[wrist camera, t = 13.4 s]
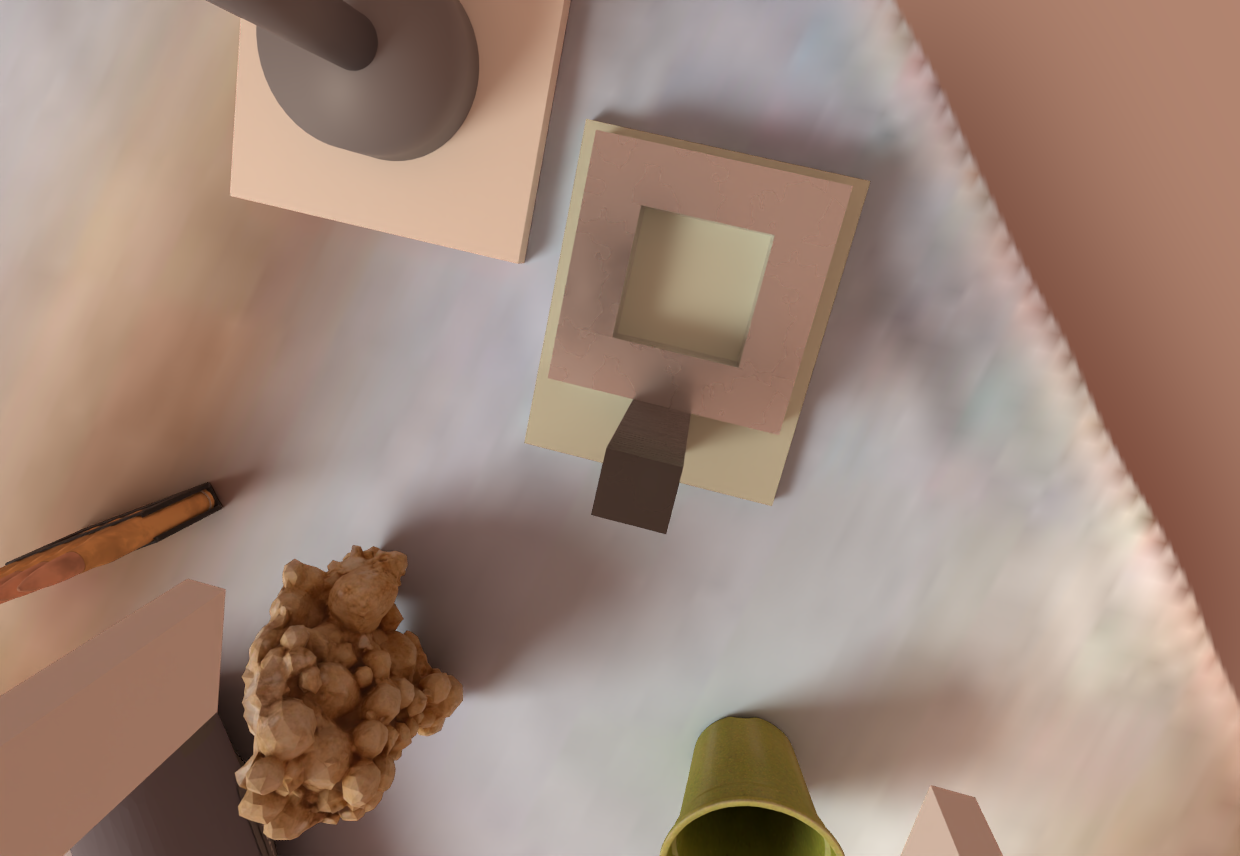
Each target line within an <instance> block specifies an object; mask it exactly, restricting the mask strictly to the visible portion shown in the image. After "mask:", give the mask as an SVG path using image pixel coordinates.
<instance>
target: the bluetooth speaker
mask: <svg viewBox="0 0 1240 856" xmlns="http://www.w3.org/2000/svg"><path fill="white" fill-rule="evenodd" d="M242 766H244V763H243V762H242V760H241V759H240V757H239V756H238V755H236V754H235V752H234V749H233V747H232V745H231V742H230V740H229V737H228V735H227V733H226V730H225V728H224V725H223V723H222V721H221V719H220V717H219V715H218V713H217V712H216V713H215V714H214V715H213V716H212V717H211V718H210V719H209V720H208V721H207V722H206V723H205V724H204V725H203V726H201V727H200V728H199V729H198V730H197V731H196V732H195V733H194V734H193V735H192V736H191V737H190V738H189V739H188V740H186V741H185V742H184V743H183V744H182V745H181V746H180V747H179V748H178V749H177V750H176V751H175V752H174V753H173V754H171V755H170V756H169V757H168V758H167V759H166V760H165V761H164V762H163V763H162V764H161V765H160V766H159V767H158V768H156V769H155V770H154V771H153V772H152V773H151V774H150V775H149V776H148V777H147V778H146V779H145V780H144V781H143V782H141V783H140V784H139V785H138V786H137V787H136V788H135V789H134V790H133V791H132V792H131V793H130V794H129V795H128V796H126V797H125V798H124V799H123V800H122V801H121V802H120V803H119V804H118V805H117V806H116V807H115V808H114V809H113V810H111V811H110V812H109V813H108V814H107V815H106V816H105V817H104V818H103V819H102V820H101V821H100V822H99V823H98V824H96V825H95V826H94V827H93V828H92V829H91V830H90V831H89V832H88V833H87V834H86V835H85V836H84V837H83V838H81V839H80V840H79V841H78V842H77V843H76V844H75V845H74V846H73V847H72V848H71V849H70V851H71V854H72V856H277V851H276V847H275V843H274V839H271V838H269V837H267V836H266V835H265V834H264V833H263V831H264V824H262V823H258V822H254V821H251V820H248V819H246V818H243V817H241V816H239V810H238V806H239V804H240V802H241V801H242V799H243V797H244V796H245V794H246V791H247V790H246V789H244V788H242V787H239V785H238V783H237V780H236V776H235V772H236V771H238V770H239V769H240V768H241V767H242Z"/></svg>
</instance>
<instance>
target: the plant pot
mask: <svg viewBox="0 0 1240 856" xmlns="http://www.w3.org/2000/svg"><path fill="white" fill-rule="evenodd" d="M660 856H845V855H844V852H843V850H842V848H841V847H840V845H839V843H838V842H837V840H836V839H835V837H834V836H833V835H832V834H831V833H830V831H829V830H828V829H827V828H826V827H825V825H824V824H823V822H822V821H821V819H820V818H819V817H818V815H817V813H816V810H815V808H814V805H813V802H812V800H811V797H810V794H809V791H808V789H807V786H806V783H805V781H804V778H803V775H802V772H801V769H800V767H799V764H798V761H797V758H796V756H795V753H794V750H793V748H792V745H791V743H790V741H789V740H788V738H787V737H786V736H785V734H784V733H783V732H782V731H781V730H779V729H778V728H777V727H776V726H774V725H773V724H771V723H769V722H767V721H765V720H763V719H760V718H756V717H755V718H735V717H727V718H723V719H721V720H718V721H716V722H715V723H713V724H711V725H710V726H709V727H707V728H706V729H705V730H704V731H703V732H702V734H701V735H700V737H699V738H698V740H697V742H696V745H695V749H694V753H693V758H692V762H691V767H690V772H689V777H688V781H687V785H686V790H685V794H684V799H683V803H682V807H681V812H680V816H679V817H678V819H677V821H676V823H675V825H674V826H673V827H672V829H671V830H670V832H669V833H668V835H667V837H666V838H665V840H664V843H663V845H662V848H661V851H660Z"/></svg>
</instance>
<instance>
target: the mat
mask: <svg viewBox="0 0 1240 856" xmlns="http://www.w3.org/2000/svg"><path fill="white" fill-rule="evenodd" d="M596 130H600V131H604V132H609V133H613V134H618V135H622V136H627V137H632V138H636V139H641V140H645V141H650V142H654V143H659V144H664V145H668V146H673V147H677V148H682V149H686V150H691V151H696V152H700V153H705V154H709V155H714V156H718V157H723V158H727V159H732V160H737V161H741V162H746V163H750V164H755V165H759V166H764V167H769V168H773V169H778V170H782V171H787V172H791V173H796V174H801V175H805V176H810V177H814V178H819V179H823V180H828V181H832V182H837V183H842V184H846V185H851V186H853V188H852V191H851V195H850V198H849V201H848V205H847V208H846V211H845V215H844V218H843V222H842V225H841V228H840V232H839V235H838V238H837V242H836V245H835V248H834V252H833V255H832V259H831V262H830V265H829V269H828V272H827V275H826V279H825V282H824V286H823V289H822V292H821V296H820V299H819V302H818V306H817V309H816V313H815V316H814V319H813V323H812V326H811V329H810V333H809V336H808V339H807V343H806V346H805V350H804V353H803V356H802V360H801V363H800V366H799V370H798V373H797V377H796V380H795V383H794V387H793V390H792V393H791V397H790V400H789V403H788V407H787V410H786V414H785V417H784V420H783V424H782V427H781V430H780V434H779V435H776V434H772V433H768V432H764V431H760V430H756V429H752V428H748V427H744V426H740V425H736V424H732V423H727V422H723V421H719V420H715V419H711V418H707V417H703V416H699V415H695V414H691V417H690V424H689V431H688V438H687V445H686V452H685V459H684V466H683V471H682V474H681V478H680V483H684V484H687V485H691V486H695V487H699V488H703V489H707V490H711V491H715V492H719V493H723V494H727V495H731V496H735V497H739V498H742V499H746V500H750V501H754V502H758V503H762V504H766V505H770V506H772V504H773V501H774V497H775V494H776V491H777V487H778V484H779V481H780V477H781V474H782V471H783V468H784V464H785V461H786V458H787V454H788V451H789V448H790V445H791V441H792V438H793V435H794V431H795V428H796V425H797V421H798V418H799V415H800V412H801V408H802V405H803V402H804V398H805V395H806V392H807V389H808V385H809V382H810V379H811V375H812V372H813V369H814V365H815V362H816V359H817V356H818V352H819V349H820V346H821V342H822V339H823V336H824V332H825V329H826V326H827V323H828V319H829V316H830V313H831V309H832V306H833V303H834V300H835V296H836V293H837V290H838V286H839V283H840V280H841V276H842V273H843V270H844V267H845V263H846V260H847V257H848V253H849V250H850V247H851V244H852V240H853V237H854V234H855V230H856V227H857V224H858V220H859V217H860V214H861V211H862V207H863V204H864V201H865V197H866V194H867V191H868V188H869V184H870V181H867V180H863V179H858V178H854V177H849V176H845V175H840V174H835V173H831V172H826V171H822V170H817V169H813V168H808V167H803V166H799V165H794V164H790V163H785V162H781V161H776V160H771V159H767V158H762V157H758V156H753V155H749V154H744V153H739V152H735V151H730V150H726V149H721V148H717V147H712V146H707V145H703V144H698V143H694V142H689V141H685V140H680V139H675V138H671V137H666V136H662V135H657V134H653V133H648V132H644V131H639V130H634V129H630V128H625V127H621V126H616V125H612V124H607V123H602V122H598V121H593V120H589V119H586V123H585V128H584V134H583V139H582V144H581V149H580V154H579V160H578V165H577V170H576V175H575V181H574V186H573V191H572V196H571V202H570V207H569V212H568V217H567V223H566V228H565V233H564V238H563V243H562V249H561V254H560V259H559V264H558V270H557V275H556V280H555V285H554V291H553V296H552V301H551V306H550V312H549V317H548V322H547V327H546V333H545V338H544V343H543V348H542V353H541V359H540V364H539V369H538V374H537V380H536V385H535V390H534V395H533V401H532V406H531V411H530V416H529V422H528V427H527V432H526V437H525V442H524V443H527V444H531V445H534V446H538V447H542V448H546V449H550V450H554V451H558V452H562V453H566V454H570V455H574V456H578V457H582V458H585V459H589V460H593V461H597V462H601V463H603V460H604V456H605V451H606V448H607V446H608V444H609V442H610V440H611V439H612V437H613V435H614V433H615V431H616V429H617V428H618V426H619V424H620V422H621V420H622V418H623V417H624V415H625V413H626V411H627V409H628V408H629V406H630V404H631V402H632V400H633V399H630V398H626V397H622V396H618V395H614V394H610V393H606V392H602V391H598V390H594V389H590V388H586V387H581V386H577V385H573V384H569V383H565V382H561V381H557V380H553V379H549V378H548V373H549V368H550V363H551V358H552V353H553V348H554V343H555V337H556V332H557V327H558V322H559V317H560V312H561V307H562V301H563V296H564V291H565V286H566V281H567V276H568V271H569V265H570V260H571V255H572V250H573V245H574V240H575V235H576V230H577V224H578V219H579V214H580V209H581V204H582V199H583V194H584V188H585V183H586V178H587V173H588V168H589V163H590V158H591V153H592V147H593V142H594V137H595V132H596ZM770 239H771V236H768V235H764V234H759V233H755V232H750V231H746V230H742V229H737V228H733V227H728V226H724V225H720V224H715V223H711V222H706V221H702V220H697V219H693V218H689V217H684V216H680V215H675V214H671V213H666V212H662V211H658V210H653V209H649V208H645V211H644V215H643V220H642V224H641V229H640V234H639V238H638V243H637V247H636V252H635V256H634V261H633V265H632V270H631V275H630V279H629V284H628V288H627V293H626V297H625V302H624V306H623V311H622V316H621V320H620V325H619V329H618V333H620V334H624V335H629V336H633V337H637V338H641V339H645V340H649V341H654V342H658V343H662V344H666V345H670V346H674V347H679V348H683V349H687V350H691V351H695V352H699V353H704V354H708V355H712V356H716V357H720V358H724V359H729V360H733V361H738V357H739V354H740V350H741V346H742V343H743V339H744V335H745V331H746V328H747V324H748V320H749V317H750V313H751V309H752V306H753V302H754V298H755V295H756V291H757V287H758V283H759V280H760V276H761V272H762V269H763V265H764V261H765V258H766V254H767V250H768V247H769V243H770Z"/></svg>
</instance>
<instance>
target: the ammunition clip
mask: <svg viewBox="0 0 1240 856" xmlns="http://www.w3.org/2000/svg"><path fill="white" fill-rule="evenodd" d="M220 509H222V506H221V504H220V502H219V500H218V498H217V496H216V495H215V493H214V491H213V489H212V487H211V485H210V483H208V482H207V483H204V484H201V485H199V486H196V487H193V488H191V489H188V490H186V491H183V492H180V493H178V494H175V495H172V496H170V497H167V498H164V499H162V500H159V501H156V502H154V503H151V504H148V505H146V506H143V507H140V508H138V509H135V510H132V511H130V512H127V513H125V514H122V515H119V516H117V517H114V518H111V519H109V520H106V521H103V522H101V523H98V524H95V525H93V526H90V527H87V528H85V529H82V530H79V531H77V532H75V533H73V534H70V535H68V536H66V537H64V538H61V539H59V540H57V541H55V542H52V543H50V544H48V545H46V546H43V547H41V548H39V549H36V550H34V551H32V552H30V553H27V554H25V555H23V556H21V557H18V558H16V559H14V560H12V561H9V562H7V563H6V564H5V565H6V566H4V567H2V568H0V604H1V603H4V602H7V601H9V600H12V599H14V598H17V597H21V596H24V595H27V594H29V593H32V592H35V591H37V590H40V589H42V588H45V587H49V586H52V585H54V584H57V583H60V582H62V581H65V580H67V579H69V578H72V577H74V576H76V575H78V574H81V573H83V572H86V571H88V570H90V569H92V568H94V567H98V566H102V565H105V564H108V563H110V562H113V561H115V560H117V559H119V558H121V557H123V556H125V555H127V554H129V553H130V552H132V551H134V550H137V549H140V548H142V547H145V546H148V545H151V544H153V543H156V542H159V541H161V540H162V539H164V538H166V537H168V536H170V535H172V534H174V533H176V532H178V531H180V530H182V529H184V528H186V527H188V526H190V525H191V524H193V523H195V522H197V521H199V520H201V519H203V518H205V517H207V516H209V515H211V514H213V513H215V512H217V511H219V510H220Z"/></svg>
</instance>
